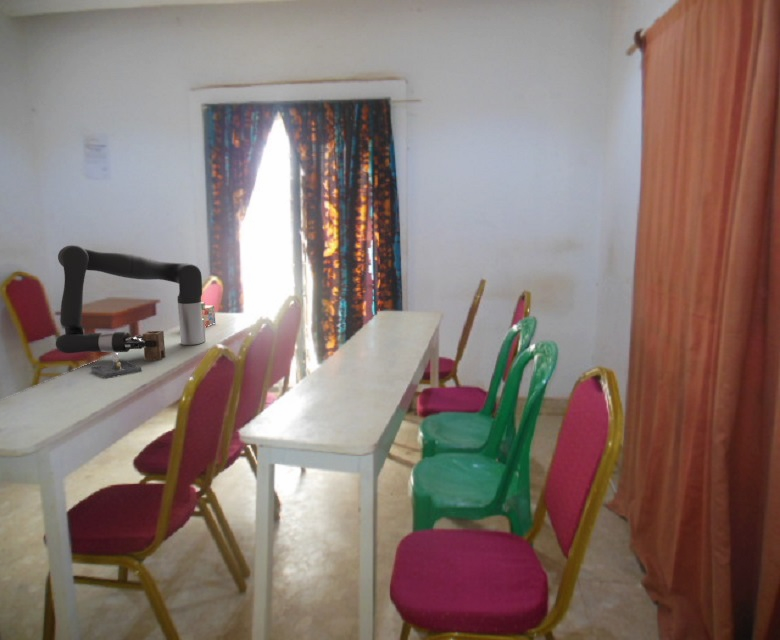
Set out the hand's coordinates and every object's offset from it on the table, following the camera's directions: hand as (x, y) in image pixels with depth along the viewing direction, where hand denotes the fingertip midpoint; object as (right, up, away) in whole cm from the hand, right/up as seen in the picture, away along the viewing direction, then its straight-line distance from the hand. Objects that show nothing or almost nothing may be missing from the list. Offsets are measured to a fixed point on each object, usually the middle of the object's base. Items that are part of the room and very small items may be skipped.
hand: (159, 341), depth 220 cm
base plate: (-8, -10, -17) cm, 21 cm away
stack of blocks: (-5, +4, +60) cm, 60 cm away
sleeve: (-2, -6, +1) cm, 7 cm away
